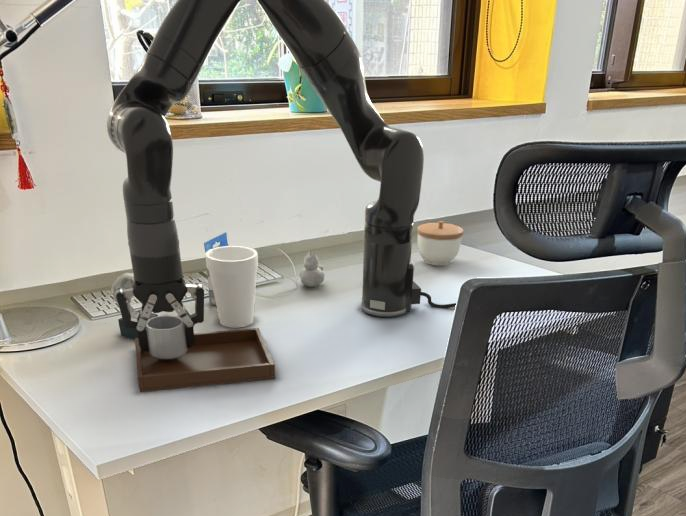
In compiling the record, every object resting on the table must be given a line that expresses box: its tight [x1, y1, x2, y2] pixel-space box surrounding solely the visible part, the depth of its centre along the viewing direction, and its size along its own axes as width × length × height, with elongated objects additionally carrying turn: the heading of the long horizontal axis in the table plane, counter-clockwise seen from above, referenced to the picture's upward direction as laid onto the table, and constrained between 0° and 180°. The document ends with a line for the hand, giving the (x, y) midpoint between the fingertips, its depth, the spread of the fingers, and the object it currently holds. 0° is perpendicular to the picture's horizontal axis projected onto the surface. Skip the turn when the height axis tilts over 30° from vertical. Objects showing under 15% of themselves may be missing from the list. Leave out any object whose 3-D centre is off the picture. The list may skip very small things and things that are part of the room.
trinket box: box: [416, 220, 464, 266], centre depth 167 cm, size 11×11×9 cm
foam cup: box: [204, 245, 259, 329], centre depth 132 cm, size 10×9×13 cm
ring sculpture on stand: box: [110, 272, 159, 341], centre depth 127 cm, size 6×8×11 cm
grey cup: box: [145, 314, 187, 359], centre depth 118 cm, size 6×6×6 cm
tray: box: [134, 327, 276, 393], centre depth 119 cm, size 22×16×3 cm
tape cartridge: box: [203, 231, 231, 306], centre depth 142 cm, size 9×4×12 cm, turn 160°
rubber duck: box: [299, 249, 325, 288], centre depth 152 cm, size 5×7×8 cm
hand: (168, 347), depth 119 cm, fingers closed on grey cup, 6 cm apart
